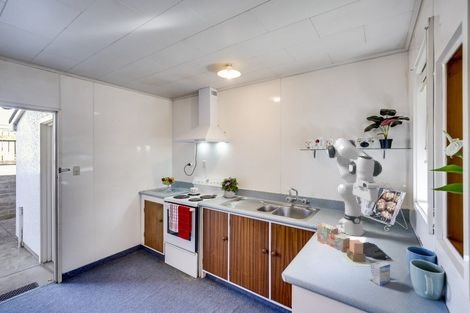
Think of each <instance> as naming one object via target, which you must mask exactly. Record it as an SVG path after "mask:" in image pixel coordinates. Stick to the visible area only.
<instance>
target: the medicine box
mask: <svg viewBox="0 0 470 313" xmlns="http://www.w3.org/2000/svg"><path fill="white" fill-rule="evenodd" d="M371 263H372V264H371V266H370V281H371V282H373V283H374V284H376V285H378V286H382V285H384V284H388V283H390V282H391V264H390V263H388V262H386V261H385V260H378V261H375V262H371Z"/></svg>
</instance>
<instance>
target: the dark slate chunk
mask: <svg viewBox="0 0 470 313" xmlns="http://www.w3.org/2000/svg"><path fill="white" fill-rule="evenodd" d="M362 243H363V253H364V254H365V255H366V258H371V259H374V260H378V261H388V260H391V261H392V262H393V258H391V257H390V256H389V255H388V254H387V253H385V252H384V251H383V250H382V249H381V248H380V247H379V246H378V245H377V244H375V243H374V242H373V243H371V242H367V241H366V242H362Z"/></svg>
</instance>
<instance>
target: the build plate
mask: <svg viewBox="0 0 470 313" xmlns="http://www.w3.org/2000/svg"><path fill="white" fill-rule="evenodd" d="M338 253H340V255H341V256H342V257H343V258H344V259H345V260H346V261H347V262H348V263H349V264H350V265H351V266H352V267H371V264H372V263H373V262H371V261H370V260H368V259H367V258H366V262H353V261H352V260H351V259H350V258H349V257H348V256H347V251H346V252H341V251H339V252H338Z"/></svg>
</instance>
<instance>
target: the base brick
mask: <svg viewBox="0 0 470 313" xmlns="http://www.w3.org/2000/svg"><path fill="white" fill-rule="evenodd" d="M346 252H347V256H348V257H349V258H350V259H351V260H352V261H353V262H366V259H367V257H366V255H365V254H364V253H363V254H354V253H352V252H351V251H350V248H349V249H347V251H346Z"/></svg>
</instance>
